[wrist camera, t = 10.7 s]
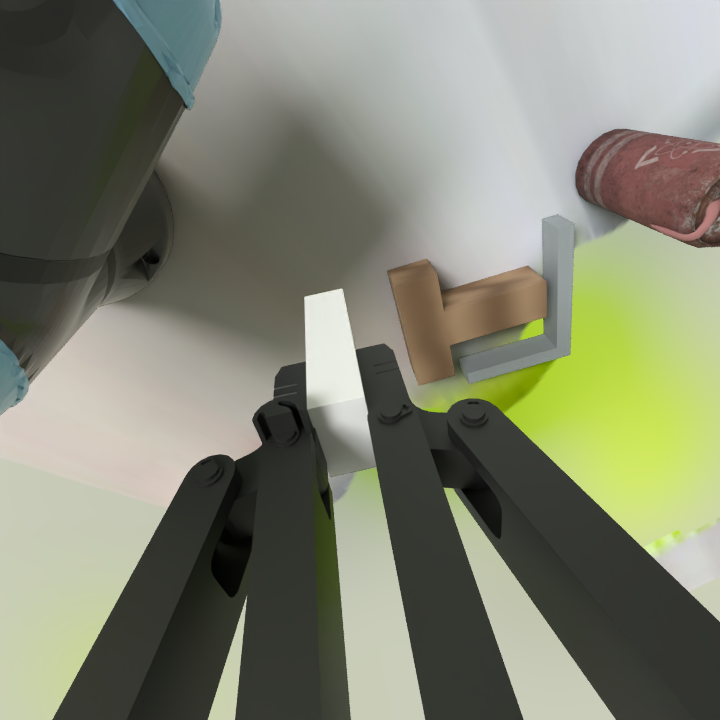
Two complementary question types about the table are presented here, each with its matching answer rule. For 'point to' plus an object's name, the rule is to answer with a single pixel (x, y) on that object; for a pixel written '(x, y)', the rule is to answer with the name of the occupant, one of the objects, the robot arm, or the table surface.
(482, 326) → the t block
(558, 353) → the bracket
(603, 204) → the can
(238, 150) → the table surface
